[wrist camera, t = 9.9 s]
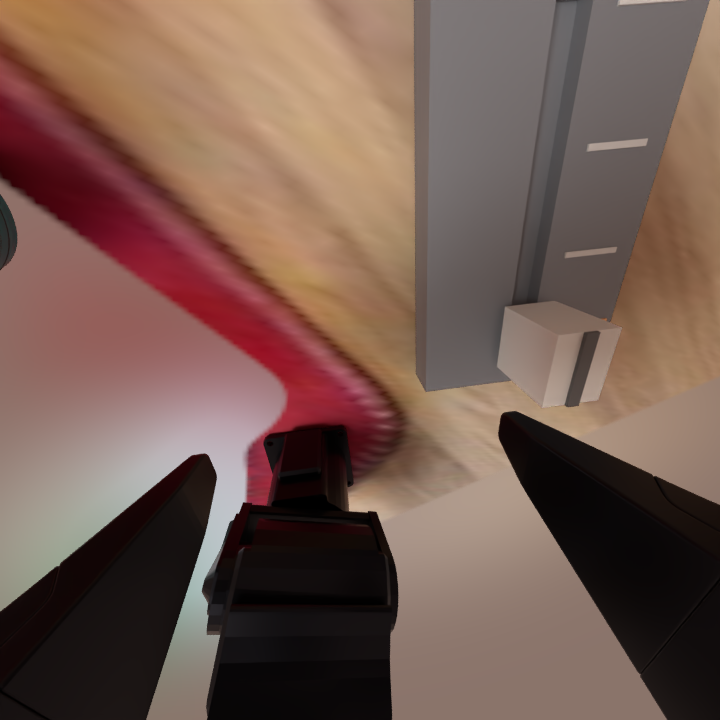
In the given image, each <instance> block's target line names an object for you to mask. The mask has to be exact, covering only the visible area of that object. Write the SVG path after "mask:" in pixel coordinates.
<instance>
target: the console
mask: <svg viewBox="0 0 720 720" xmlns="http://www.w3.org/2000/svg"><path fill="white" fill-rule="evenodd" d="M709 1H710V0H414V95H415V287H416V375H417V377H418V378H419V380H420V382H421V384H422V386H423V388H424V389H425V391H426V392H428V391H435V390H443V389H451V388H458V387H466V386H473V385H481V384H489V383H496V382H504V381H511V379H510V378H509V377H507V376H506V375H505V374H504V373H503V372H502V371H501V370H500V369H499V368H498V367H497V362H498V355H499V348H500V340H501V333H502V326H503V318H504V311H505V307H506V306H515V305H523V304H531V303H540V302H548V301H557V302H559V303H562V304H564V305H567V306H569V307H572V308H574V309H577V310H579V311H582V312H585V313H587V314H590V315H592V316H595V317H597V318H600V319H602V320H605V321H607V322H610V321H611V317H612V314H613V311H614V308H615V304H616V301H617V298H618V295H619V292H620V288H621V285H622V282H623V279H624V275H625V272H626V269H627V266H628V263H629V259H630V256H631V253H632V250H633V246H634V243H635V240H636V237H637V233H638V230H639V227H640V224H641V221H642V217H643V214H644V211H645V208H646V204H647V201H648V198H649V195H650V191H651V188H652V185H653V182H654V179H655V175H656V172H657V169H658V166H659V162H660V159H661V156H662V153H663V149H664V146H665V143H666V140H667V137H668V133H669V130H670V127H671V124H672V120H673V117H674V114H675V111H676V107H677V104H678V101H679V98H680V95H681V91H682V88H683V85H684V82H685V78H686V75H687V72H688V69H689V65H690V62H691V59H692V56H693V53H694V49H695V46H696V43H697V40H698V36H699V33H700V30H701V27H702V23H703V20H704V17H705V14H706V11H707V7H708V4H709Z"/></svg>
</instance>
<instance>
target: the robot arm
mask: <svg viewBox="0 0 720 720" xmlns="http://www.w3.org/2000/svg"><path fill="white" fill-rule="evenodd" d="M338 432H342V433H338ZM498 436H499V440H500V442H501V444H502V446H503V449H504V451H505V453H506V455H507V457H508V459H509V461H510V463H511V465H512V467H513V469H514V470H515V473H516V475H517V477H518V479H519V481H520V483H521V485H522V486H523V488H524V490H525V492H526V493H527V495H528V497H529V498H530V500H531V501H532V503H533V505H534V506H535V508H536V509H537V511H538V513H539V514H540V516H541V517H542V519H543V521H544V522H545V524H546V525H547V527H548V529H549V530H550V532H551V533H552V535H553V537H554V538H555V540H556V542H557V543H558V545H559V546H560V548H561V550H562V551H563V553H564V554H565V556H566V558H567V559H568V561H569V562H570V564H571V566H572V567H573V569H574V570H575V572H576V574H577V575H578V577H579V578H580V580H581V582H582V583H583V585H584V586H585V588H586V590H587V591H588V593H589V594H590V596H591V597H592V599H593V601H594V603H595V604H596V606H597V607H598V609H599V611H600V612H601V614H602V615H603V617H604V619H605V620H606V622H607V623H608V625H609V627H610V628H611V630H612V631H613V633H614V635H615V636H616V638H617V640H618V641H619V642H620V644H621V646H622V648H623V649H624V650H625V652H626V654H627V656H628V657H629V659H630V660H631V662H632V664H633V665H634V667H635V668H636V670H637V672H638V673H639V674H641V675H640V677H641V678H642V680H643V682H644V683H645V685H646V687H647V688H648V690H649V691H650V693H651V694H652V696H653V698H654V699H655V701H656V703H657V704H658V706H659V707H660V709H661V711H662V712H663V714H664V715H665V717H666V718H667V720H720V505H719V504H717V503H714V502H712V501H709V500H707V499H705V498H702V497H700V496H698V495H696V494H694V493H691V492H689V491H687V490H685V489H682V488H680V487H678V486H676V485H674V484H672V483H669V482H667V481H665V480H663V479H661V478H658V477H657V476H654V477H653V475H652V474H650V473H648V472H646V471H644V470H642V469H639V468H637V467H635V466H633V465H631V464H629V463H626V462H624V461H622V460H620V459H618V458H616V457H614V456H611V455H609V454H607V453H605V452H603V451H601V450H598V449H596V448H594V447H592V446H590V445H588V444H586V443H584V442H581V441H579V440H577V439H575V438H573V437H571V436H569V435H566V434H564V433H562V432H560V431H558V430H556V429H554V428H551V427H549V426H547V425H545V424H543V423H541V422H539V421H536V420H534V419H532V418H530V417H528V416H526V415H524V414H521V413H519V412H517V411H511V412H505V413H503V414H502V415H501V419H500V425H499V432H498ZM269 441H271V442H272V443H270V442H269ZM264 447H265V451H266V454H267V457H268V460H269V463H270V467H271V470H272V473H273V477H272V482H271V487H270V492H269V496H268V501H267V506H264V505H252V503H243V505H242V507H241V510H240V512H239V514H236V516H235V518H234V520H233V521H231V522H230V523H229V526H228V529H227V532H226V536H225V539H224V542H223V545H222V547H221V549H220V552H219V554H218V555H217V558H216V559H215V561H214V563H213V565H212V567H211V569H210V570H209V572H208V574H207V576H206V578H205V580H204V584H203V588H202V593H203V595H204V597H205V598H206V600H207V602H208V610H207V615H209V617H208V624H207V635H220V639H219V644H218V649H217V654H216V659H215V663H214V668H213V673H212V678H211V683H210V688H209V693H208V698H207V705H206V709H207V716H208V718H207V720H392V704H391V703H392V702H391V683H390V633H391V632H392V631H393V629H394V626H395V623H396V618H397V611H398V581H397V572H396V567H395V563H394V559H393V556H392V553H391V551H390V548H389V545H388V543H387V540H386V537H385V534H384V532H383V529H382V526H381V523H380V521H379V518H378V515H377V512H372V511H368V513H365V512H350V511H349V502H348V488H347V487H350V486H352V485H353V474H352V467H351V460H350V453H349V446H348V439H347V432H346V428H345V427H343V426H335V427H328V428H320V429H313V430H306V431H298V432H291V433H283V434H276V435H269V436H267V437H265V439H264ZM216 480H217V475H216V472H215V469H214V467H213V465H212V462H211V460H210V458H209V456H208V455H207V454H198V455H192V456H190V457H189V458H188V459H187V460H185V461H184V462H183V463H182V464H180V465H179V466H178V467H177V468H176V469H174V470H173V471H172V472H171V473H169V474H168V475H167V476H166V477H165V478H163V479H162V480H161V481H160V482H159V483H157V484H156V485H155V486H154V487H152V488H151V489H150V490H149V491H148V492H146V493H145V494H144V495H143V496H142V497H140V498H139V499H138V500H137V501H136V502H135V503H133V504H132V505H131V506H129V507H128V508H127V509H126V510H124V512H122V513H121V514H120V515H119V516H117V517H116V518H115V519H114V520H112V521H111V522H110V523H109V524H107V525H106V526H105V527H104V528H103V529H101V530H100V531H99V532H98V533H96V534H95V535H94V536H93V537H92V538H90V539H89V540H88V541H87V542H86V543H84V544H83V545H82V546H81V547H79V548H78V549H77V550H76V551H75V552H73V553H72V554H71V555H70V556H69V557H67V558H66V559H65V560H64V561H63V562H61V563H60V566H56V567H55V568H54V569H53V570H51V571H50V572H49V573H48V574H46V575H45V576H44V577H43V578H42V579H40V580H39V581H38V582H37V583H36V584H34V585H33V586H32V587H31V588H29V589H28V590H27V591H26V592H25V593H23V594H22V595H21V596H19V597H18V598H17V599H16V600H14V601H13V602H12V603H11V604H9V605H8V606H7V607H6V608H4V609H3V610H2V611H0V720H146V718H147V715H148V712H149V709H150V705H151V702H152V699H153V696H154V693H155V690H156V687H157V684H158V680H159V677H160V674H161V671H162V668H163V665H164V661H165V658H166V655H167V652H168V649H169V646H170V643H171V640H172V637H173V633H174V630H175V627H176V624H177V620H178V618H179V614H180V611H181V608H182V604H183V602H184V599H185V596H186V593H187V590H188V586H189V583H190V580H191V577H192V574H193V571H194V568H195V564H196V561H197V558H198V555H199V552H200V549H201V545H202V542H203V539H204V536H205V532H206V528H207V524H208V519H209V514H210V509H211V505H212V500H213V495H214V490H215V486H216Z"/></svg>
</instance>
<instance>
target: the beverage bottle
mask: <svg viewBox="0 0 720 720" xmlns="http://www.w3.org/2000/svg"><path fill="white" fill-rule="evenodd" d="M16 247H17V231H16V226H15V222H14V219H13V217H12V214H11V211H10V210H9V208H8V206H7V204H6V202H5V201H4V199H3V198H2V196H1V195H0V270H1V269H2V268H3V267H4V266H6V265H7V264H8V263H9V262H10V261H11V259H12V257H13V256H14V253H15V251H16Z"/></svg>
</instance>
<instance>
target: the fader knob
mask: <svg viewBox="0 0 720 720" xmlns="http://www.w3.org/2000/svg"><path fill="white" fill-rule="evenodd" d="M621 330H622V327H620V326H618V325H615V324H613V323H610V322H607V321H605V320H602V319H600V318H597V317H595V316H592V315H590V314H587V313H585V312H582V311H579V310H577V309H574V308H572V307H569V306H567V305H564V304H562V303H559V302H557V301H548V302H540V303H531V304H523V305H515V306H506V307H505V311H504V318H503V326H502V333H501V340H500V348H499V355H498V362H497V367H498V368H499V369H500V370H501V371H502V372H503V373H504V374H505V375H506V376H507V377H509V378H510V379H511V380H512V381H513V382H514V383H515V384H516V385H517V386H518V387H519V388H521V389H522V390H523V391H524V392H525V393H526V394H527V395H528V396H529V397H530V398H531V399H532V400H534V401H535V402H536V403H537V404H538V405H539V406H540V407H541V408H546V407H553V406H560V405H565V406H566V407H573V406H579V403H582V402H590V401H597V400H598V399H599V396H600V393H601V390H602V387H603V384H604V381H605V378H606V375H607V372H608V369H609V366H610V363H611V360H612V357H613V354H614V351H615V348H616V345H617V342H618V339H619V336H620V333H621Z"/></svg>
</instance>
